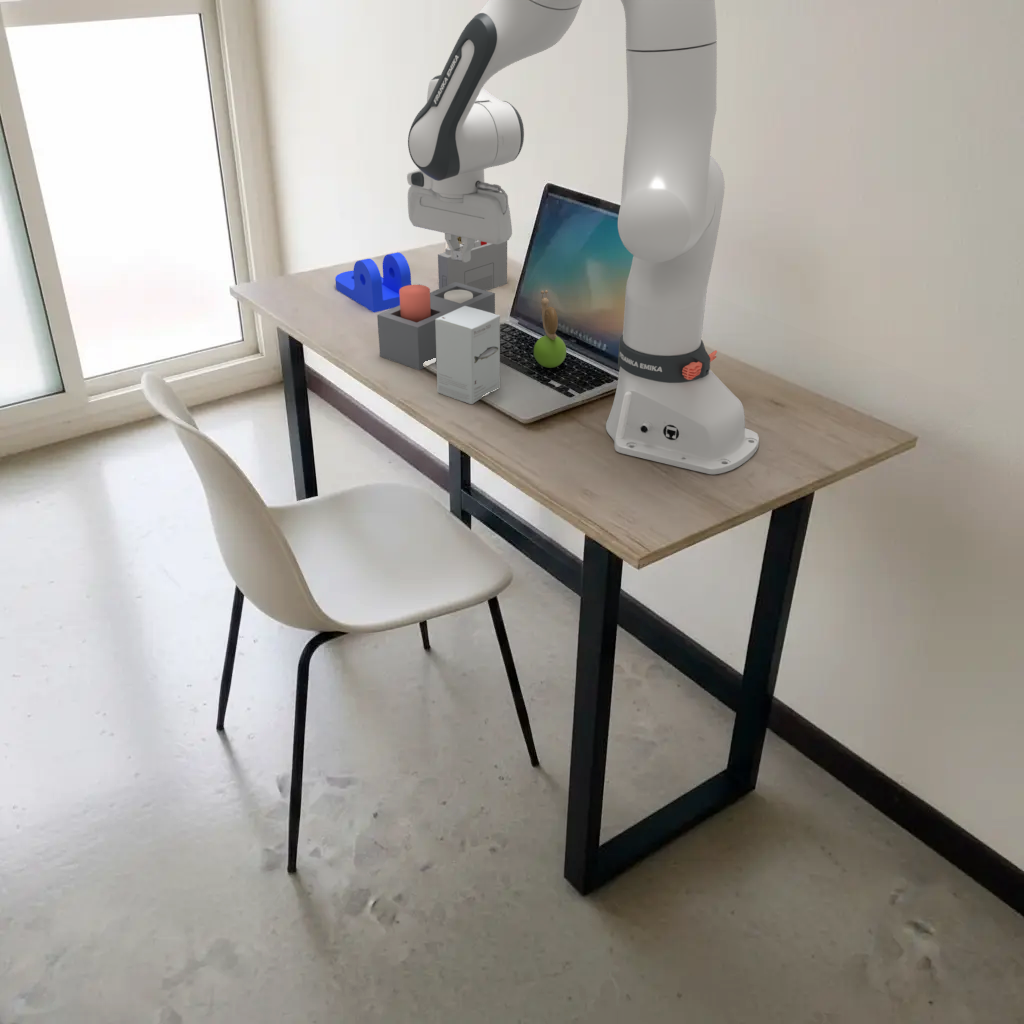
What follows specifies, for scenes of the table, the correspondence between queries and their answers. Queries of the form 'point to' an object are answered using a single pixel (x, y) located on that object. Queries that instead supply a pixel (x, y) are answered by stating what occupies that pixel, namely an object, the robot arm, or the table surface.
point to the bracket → (376, 282)
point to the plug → (458, 295)
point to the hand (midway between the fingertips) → (461, 260)
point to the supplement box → (467, 353)
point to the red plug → (415, 302)
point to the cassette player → (475, 267)
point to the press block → (423, 326)
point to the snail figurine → (549, 339)
